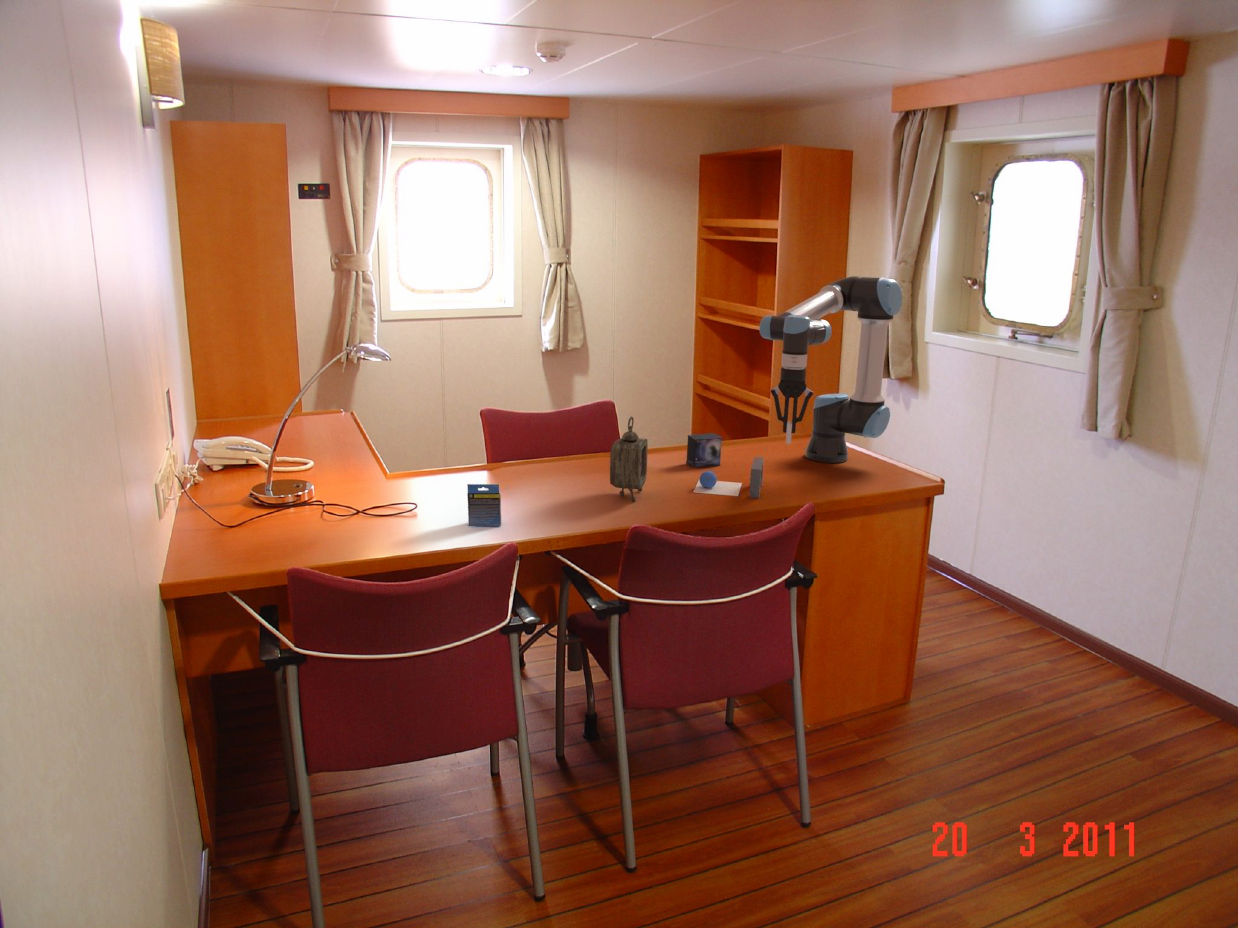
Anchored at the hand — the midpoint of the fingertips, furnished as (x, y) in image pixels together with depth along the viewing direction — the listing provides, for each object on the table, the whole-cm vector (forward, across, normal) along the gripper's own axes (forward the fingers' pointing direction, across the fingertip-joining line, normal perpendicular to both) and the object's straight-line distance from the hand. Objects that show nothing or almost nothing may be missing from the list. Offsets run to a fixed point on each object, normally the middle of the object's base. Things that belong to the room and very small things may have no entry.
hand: (788, 442), depth 276 cm
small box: (+17, -29, +26) cm, 42 cm away
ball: (+14, -24, -1) cm, 28 cm away
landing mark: (+16, -21, 0) cm, 27 cm away
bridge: (+16, -9, 0) cm, 19 cm away
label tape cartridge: (+17, -80, -52) cm, 97 cm away
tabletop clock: (+17, -47, -16) cm, 52 cm away
